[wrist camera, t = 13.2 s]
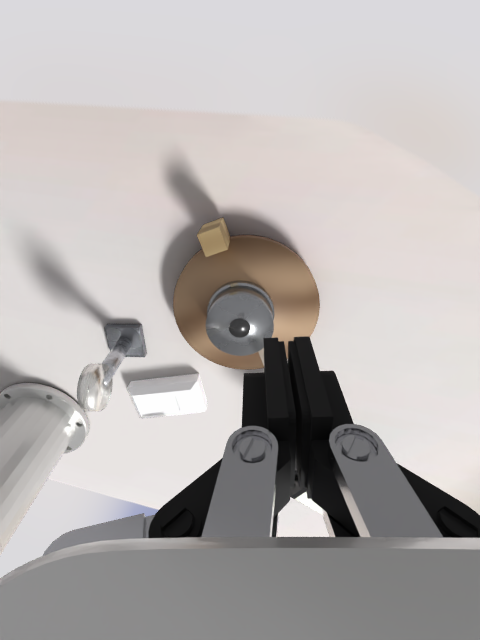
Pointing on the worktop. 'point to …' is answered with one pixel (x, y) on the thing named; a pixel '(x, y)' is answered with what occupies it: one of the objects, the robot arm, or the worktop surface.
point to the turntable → (246, 265)
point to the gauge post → (109, 365)
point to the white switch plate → (168, 396)
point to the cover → (240, 318)
